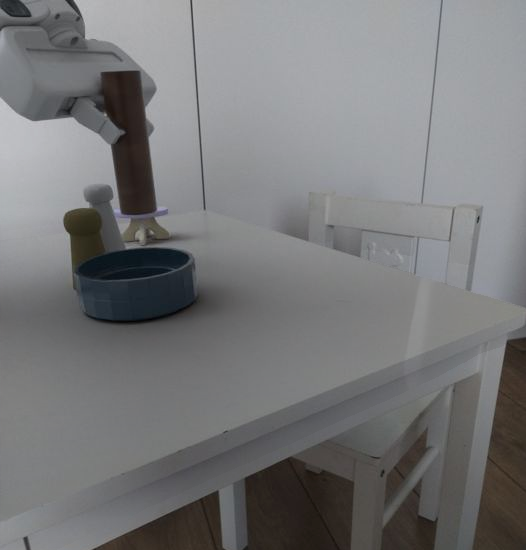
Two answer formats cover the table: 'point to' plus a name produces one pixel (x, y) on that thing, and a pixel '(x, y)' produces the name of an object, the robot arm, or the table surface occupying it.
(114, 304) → the bowl
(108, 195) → the salt shaker
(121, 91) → the brown wooden cylinder
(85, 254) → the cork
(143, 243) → the toy table
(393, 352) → the table surface
